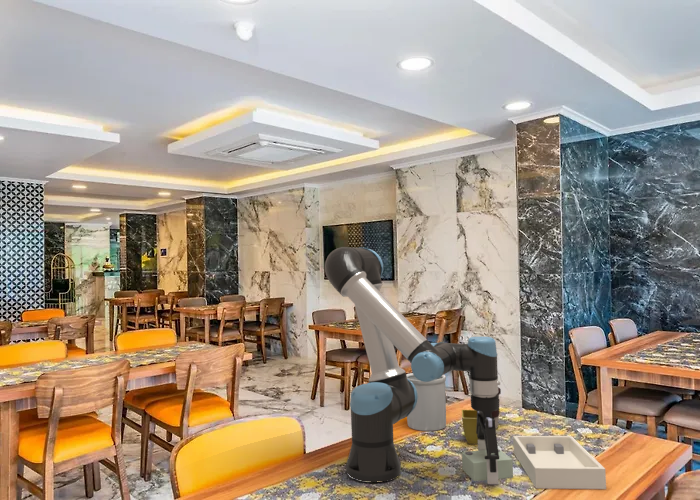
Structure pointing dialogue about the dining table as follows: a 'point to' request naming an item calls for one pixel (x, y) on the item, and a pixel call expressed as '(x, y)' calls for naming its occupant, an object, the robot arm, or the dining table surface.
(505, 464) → the dotted green block
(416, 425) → the utensil holder
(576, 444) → the tray
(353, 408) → the robot arm
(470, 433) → the flower pot
